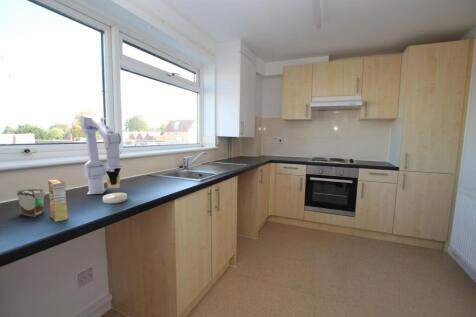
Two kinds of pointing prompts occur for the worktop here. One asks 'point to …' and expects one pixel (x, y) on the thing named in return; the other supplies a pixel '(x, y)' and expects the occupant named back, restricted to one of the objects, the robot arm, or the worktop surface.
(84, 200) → the worktop surface
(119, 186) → the beech block
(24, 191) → the food container
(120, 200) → the ceramic plinth
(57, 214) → the candy box
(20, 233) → the worktop surface
